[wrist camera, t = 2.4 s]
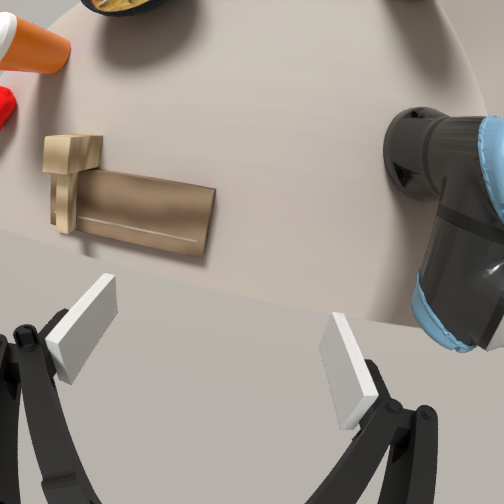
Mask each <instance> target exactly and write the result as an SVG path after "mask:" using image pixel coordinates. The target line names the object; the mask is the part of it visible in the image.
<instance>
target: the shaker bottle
mask: <svg viewBox="0 0 504 504" xmlns="http://www.w3.org/2000/svg"><path fill="white" fill-rule="evenodd" d="M70 49H71V46H70V43H69V41H68V40H67V39H65V38H63V37H61V36H59V35H56V34H54V33H52V32H50V31H48V30H46V29H43V28H41V27H39V26H37V25H34V24H32V23H30V22H27V21H25V20H22V19H20V18H18V17H16V15H14V14H11V13H7V12H3V13H0V70H6V71H23V72H35V73H44V74H53V73H55V72H57V71H59V70H60V69H61V68H62V67H63V66H64V64H65V63H66V61H67V59H68V57H69V54H70Z"/></svg>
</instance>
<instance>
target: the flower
mask: <svg viewBox="0 0 504 504" xmlns="http://www.w3.org/2000/svg"><path fill="white" fill-rule="evenodd" d="M15 103H16V102H15V97H14V96H13V93H12V92H11V90H10V89H8V88H5V87H2V86H0V131H1V130H2V126H3V123H4V121H5V120H6V119H7V118H8V117H9V116H10V114H11V113H12V111H13V110H14V107H15Z"/></svg>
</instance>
